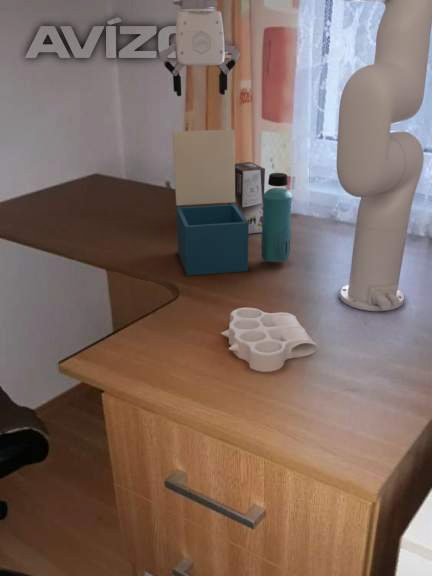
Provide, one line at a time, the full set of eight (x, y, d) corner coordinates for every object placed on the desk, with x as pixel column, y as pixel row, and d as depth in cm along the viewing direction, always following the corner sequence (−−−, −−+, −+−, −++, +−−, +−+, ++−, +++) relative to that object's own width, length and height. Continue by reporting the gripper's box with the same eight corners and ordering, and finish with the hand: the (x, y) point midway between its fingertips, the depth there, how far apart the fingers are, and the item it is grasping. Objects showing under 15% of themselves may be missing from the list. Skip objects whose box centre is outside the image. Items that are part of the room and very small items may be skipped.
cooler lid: (234, 129, 135) (229, 128, 140) (172, 132, 133) (170, 130, 138) (235, 202, 142) (230, 198, 147) (176, 205, 140) (173, 201, 145)
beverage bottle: (287, 269, 136) (292, 178, 126) (258, 267, 138) (261, 176, 127) (290, 259, 142) (295, 170, 131) (262, 257, 143) (265, 169, 132)
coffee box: (264, 232, 159) (266, 168, 150) (241, 235, 157) (242, 170, 148) (249, 222, 166) (251, 161, 157) (227, 225, 164) (228, 163, 155)
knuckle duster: (322, 366, 100) (236, 376, 98) (288, 319, 115) (212, 326, 112) (324, 348, 98) (236, 358, 96) (289, 302, 113) (212, 310, 111)
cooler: (247, 271, 136) (248, 222, 130) (186, 275, 134) (185, 226, 128) (234, 248, 148) (234, 204, 142) (178, 252, 146) (176, 207, 140)
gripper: (158, 3, 121) (163, 98, 130) (243, 2, 123) (242, 95, 132) (154, 4, 127) (159, 94, 136) (235, 3, 129) (235, 91, 138)
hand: (200, 94), depth 134 cm, fingers open, 9 cm apart
